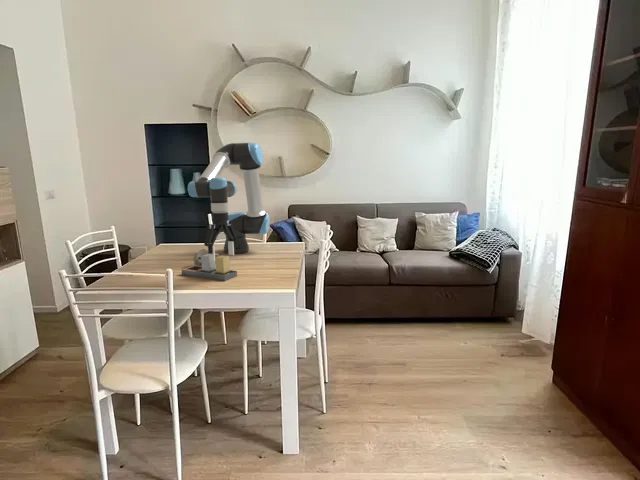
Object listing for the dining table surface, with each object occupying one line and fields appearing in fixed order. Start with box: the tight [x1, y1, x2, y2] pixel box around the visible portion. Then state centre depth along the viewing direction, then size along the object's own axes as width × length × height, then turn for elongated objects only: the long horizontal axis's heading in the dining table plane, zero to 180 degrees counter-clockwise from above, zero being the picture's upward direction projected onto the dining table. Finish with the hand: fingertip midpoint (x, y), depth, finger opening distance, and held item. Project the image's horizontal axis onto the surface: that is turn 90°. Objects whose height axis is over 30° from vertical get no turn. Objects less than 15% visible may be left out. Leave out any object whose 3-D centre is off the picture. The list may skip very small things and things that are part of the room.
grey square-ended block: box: [201, 254, 216, 273], centre depth 200 cm, size 4×4×10 cm
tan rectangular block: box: [215, 254, 231, 275], centre depth 196 cm, size 4×4×10 cm
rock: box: [193, 248, 220, 266], centre depth 218 cm, size 12×7×10 cm, turn 93°
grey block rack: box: [181, 264, 238, 282], centre depth 200 cm, size 9×26×3 cm, turn 64°
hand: (222, 257), depth 195 cm, fingers open, 13 cm apart
